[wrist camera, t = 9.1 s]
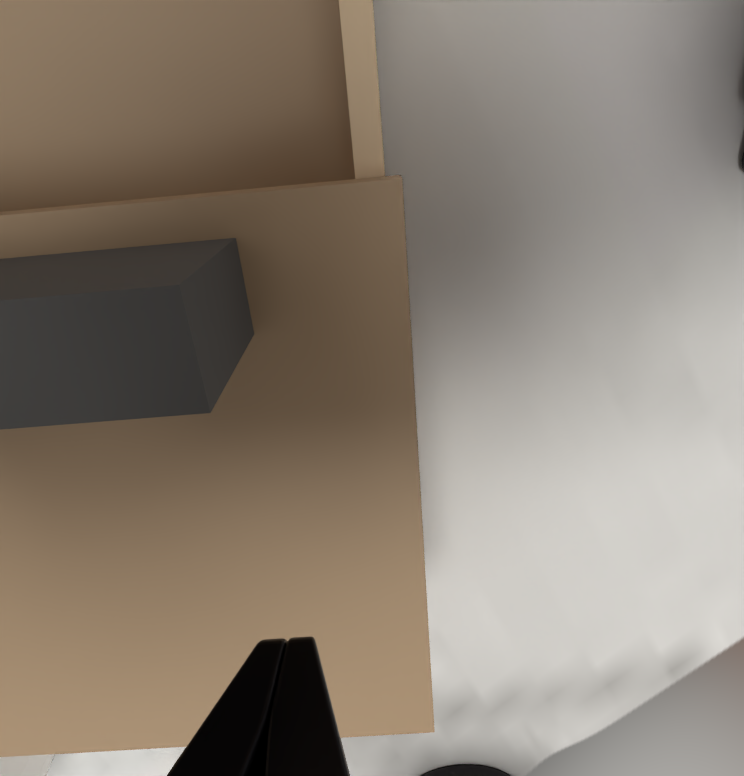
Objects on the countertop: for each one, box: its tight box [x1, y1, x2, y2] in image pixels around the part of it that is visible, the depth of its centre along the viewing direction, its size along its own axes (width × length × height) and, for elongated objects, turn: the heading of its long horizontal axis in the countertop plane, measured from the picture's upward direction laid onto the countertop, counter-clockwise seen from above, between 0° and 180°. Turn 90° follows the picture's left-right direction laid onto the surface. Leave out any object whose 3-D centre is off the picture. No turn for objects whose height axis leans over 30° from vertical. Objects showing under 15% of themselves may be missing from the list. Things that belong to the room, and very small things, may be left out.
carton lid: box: [0, 175, 434, 757], centre depth 13 cm, size 19×17×4 cm
